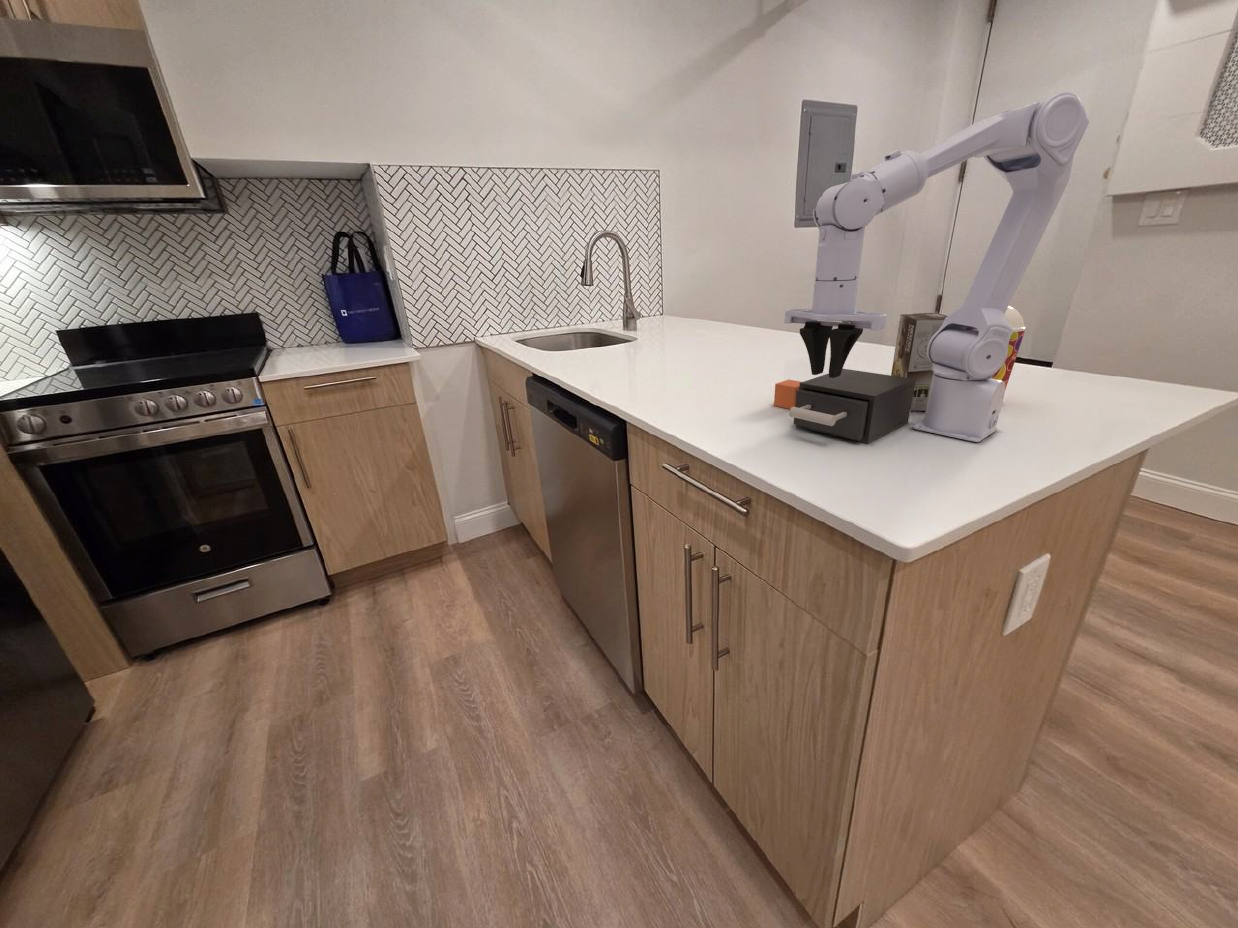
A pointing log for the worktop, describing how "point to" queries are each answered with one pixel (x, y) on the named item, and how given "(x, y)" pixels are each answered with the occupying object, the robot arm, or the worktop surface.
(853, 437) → the open pull-out drawer
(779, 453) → the worktop surface
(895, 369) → the coffee box
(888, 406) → the dark drawer unit
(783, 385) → the block
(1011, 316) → the smoothie
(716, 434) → the worktop surface
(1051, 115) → the robot arm
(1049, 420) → the worktop surface
